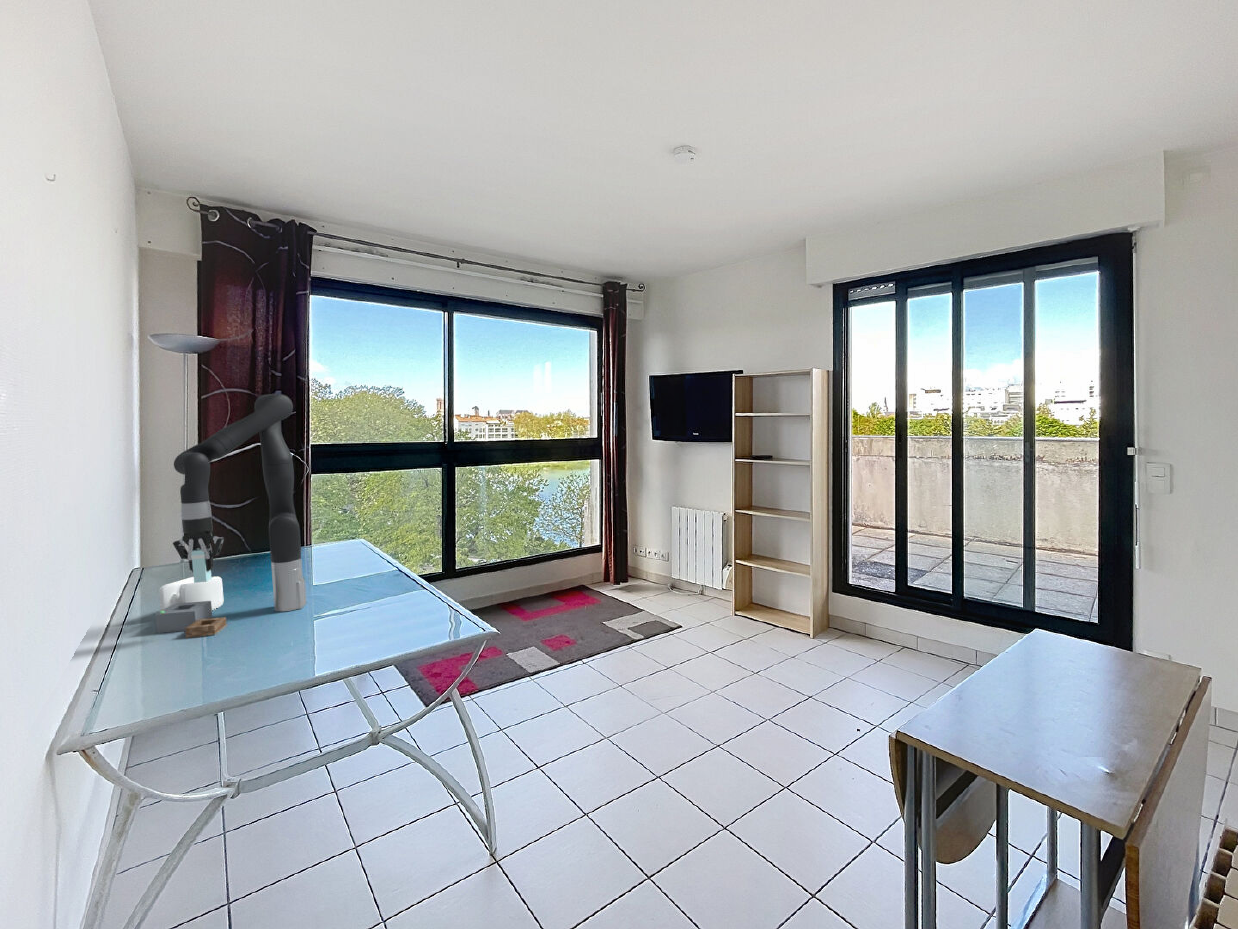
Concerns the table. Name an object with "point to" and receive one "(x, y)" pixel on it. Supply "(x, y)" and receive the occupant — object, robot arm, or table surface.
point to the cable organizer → (192, 592)
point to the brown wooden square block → (205, 627)
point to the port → (182, 616)
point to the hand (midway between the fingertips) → (201, 570)
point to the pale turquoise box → (200, 566)
